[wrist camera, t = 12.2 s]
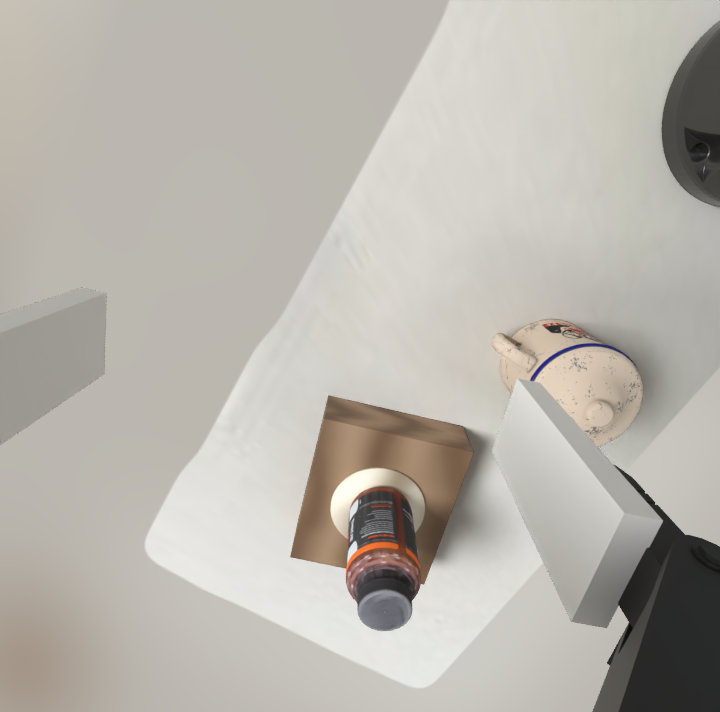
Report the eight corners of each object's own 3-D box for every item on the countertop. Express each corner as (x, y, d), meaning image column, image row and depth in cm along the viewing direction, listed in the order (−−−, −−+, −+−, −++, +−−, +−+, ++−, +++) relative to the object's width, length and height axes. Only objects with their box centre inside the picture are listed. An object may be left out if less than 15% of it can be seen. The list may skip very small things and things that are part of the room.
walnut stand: (462, 426, 47) (474, 454, 42) (418, 549, 52) (424, 587, 47) (328, 395, 46) (323, 421, 41) (297, 523, 51) (289, 560, 46)
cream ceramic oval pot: (612, 345, 44) (693, 396, 33) (552, 419, 47) (609, 489, 36) (509, 281, 42) (559, 313, 31) (453, 362, 45) (481, 417, 34)
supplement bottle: (336, 503, 44) (326, 603, 33) (388, 472, 43) (395, 566, 32) (372, 545, 45) (373, 653, 35) (423, 516, 44) (441, 619, 34)
